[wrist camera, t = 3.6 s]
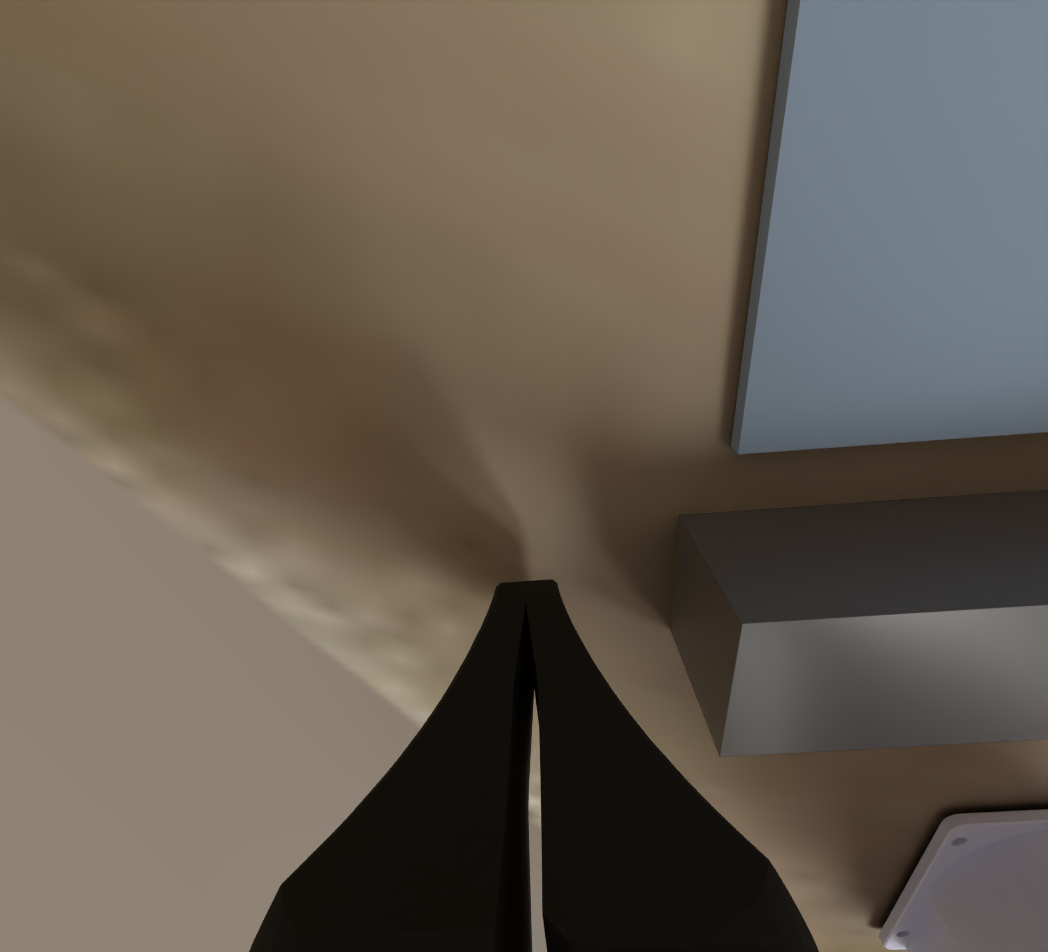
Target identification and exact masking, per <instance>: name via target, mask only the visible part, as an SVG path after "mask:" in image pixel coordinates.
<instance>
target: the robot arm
mask: <svg viewBox="0 0 1048 952" xmlns="http://www.w3.org/2000/svg"><path fill="white" fill-rule="evenodd" d="M534 690H535V697H536V705H537V713H538V720H539V732H540V774H541V828H542V906H543V907H542V909H543V921H544V929H545V937H546V945H547V952H819V951H818V948H817V946H816V944H815V941H814V939H813V937H812V935H811V933H810V931H809V929H808V927H807V925H806V923H805V921H804V919H803V917H802V915H801V913H800V911H799V909H798V908H797V906H796V904H795V902H794V900H793V899H792V897H791V895H790V893H789V891H788V890H787V888H786V886H785V885H784V883H783V882H782V880H781V878H780V877H779V875H778V873H777V872H776V870H775V868H774V867H773V865H772V864H771V862H770V861H769V859H768V858H767V857H765V856H764V855H763V854H762V853H761V852H760V851H759V850H758V849H757V848H756V847H755V846H754V845H752V844H751V843H750V842H749V841H748V840H747V839H746V838H745V837H744V836H743V835H742V834H740V833H739V832H738V831H737V830H736V829H735V828H734V827H733V826H732V825H731V824H730V823H729V822H728V821H727V820H726V819H725V818H724V817H723V816H722V815H721V814H720V813H719V812H717V811H716V810H715V809H714V808H713V807H712V806H711V805H710V803H709V802H708V801H707V800H706V799H705V798H704V797H703V796H702V795H701V794H700V793H699V792H698V791H697V790H696V789H695V788H694V787H693V786H692V785H691V784H690V783H689V782H688V781H687V780H686V779H685V778H684V777H683V775H682V774H681V773H680V772H679V771H678V770H677V769H676V768H675V767H674V765H673V764H672V763H671V762H670V761H669V760H668V759H667V758H666V756H665V755H664V754H663V753H662V752H661V751H660V750H659V749H658V748H657V746H656V745H655V744H654V743H653V742H652V741H651V740H650V738H649V737H648V736H647V735H646V734H645V732H644V731H643V730H642V729H641V727H640V726H639V725H638V724H637V722H636V721H635V720H634V719H633V717H632V716H631V715H630V713H629V712H628V711H627V709H626V708H625V707H624V705H623V704H622V703H621V701H620V700H619V699H618V697H617V696H616V694H615V693H614V692H613V690H612V689H611V687H610V686H609V684H608V683H607V681H606V680H605V679H604V677H603V675H602V674H601V672H600V671H599V669H598V668H597V666H596V664H595V663H594V661H593V660H592V658H591V656H590V655H589V653H588V651H587V650H586V648H585V646H584V644H583V642H582V641H581V639H580V637H579V635H578V633H577V631H576V630H575V628H574V626H573V624H572V622H571V620H570V617H569V615H568V613H567V611H566V609H565V606H564V604H563V601H562V599H561V596H560V593H559V589H558V585H557V583H556V582H555V581H554V580H537V581H522V582H506V583H500V584H499V585H498V586H497V587H496V590H495V593H494V596H493V599H492V602H491V605H490V607H489V610H488V612H487V615H486V617H485V619H484V621H483V624H482V626H481V628H480V630H479V632H478V634H477V636H476V638H475V640H474V642H473V644H472V646H471V648H470V650H469V652H468V654H467V656H466V658H465V660H464V661H463V663H462V665H461V667H460V668H459V670H458V672H457V674H456V675H455V677H454V679H453V681H452V682H451V684H450V686H449V687H448V689H447V691H446V692H445V694H444V695H443V697H442V699H441V700H440V702H439V703H438V705H437V706H436V708H435V709H434V711H433V712H432V714H431V715H430V716H429V718H428V719H427V721H426V722H425V724H424V725H423V727H422V728H421V729H420V731H419V732H418V733H417V735H416V736H415V737H414V739H413V740H412V741H411V743H410V744H409V745H408V747H407V748H406V749H405V751H404V752H403V753H402V755H401V756H400V757H399V758H398V760H397V761H396V762H395V763H394V765H393V766H392V767H391V768H390V770H389V771H388V772H387V773H386V774H385V776H384V777H383V778H382V779H381V780H380V781H379V782H378V784H377V785H376V786H375V787H374V788H373V789H372V790H371V791H370V793H369V794H368V795H367V796H366V797H365V798H364V799H363V801H362V802H361V803H360V804H359V805H358V806H357V807H356V808H355V810H354V811H353V812H352V813H351V814H350V815H349V816H348V818H347V819H346V820H345V821H344V822H343V823H342V824H341V825H340V826H339V827H338V828H337V829H336V830H335V831H334V832H333V833H332V834H331V835H330V836H329V837H328V838H327V839H326V840H325V841H324V842H323V843H322V844H321V845H320V846H319V847H318V848H317V849H316V850H315V851H314V852H313V853H312V854H311V855H310V856H309V857H308V858H307V859H306V860H305V861H304V862H303V863H302V864H301V865H300V866H299V867H298V868H297V870H295V871H294V872H293V873H292V874H291V875H290V876H289V877H288V878H287V879H286V880H285V881H284V882H283V883H282V884H281V886H280V888H279V890H278V892H277V894H276V896H275V898H274V900H273V902H272V904H271V906H270V908H269V910H268V912H267V914H266V916H265V918H264V920H263V923H262V925H261V927H260V929H259V931H258V933H257V935H256V937H255V939H254V941H253V944H252V946H251V949H250V951H249V952H532V931H531V896H530V895H531V894H530V859H529V819H528V801H529V774H530V756H531V738H532V720H533V701H534ZM879 938H880V940H881V942H882V944H883V946H884V947H885V948H887V949H891V950H896V949H908V951H909V952H1048V809H1040V810H1020V811H1001V812H981V813H961V814H953V815H951V816H948V817H946V818H945V819H943V821H942V822H941V824H940V825H939V827H938V829H937V831H936V833H935V834H934V836H933V838H932V840H931V841H930V843H929V845H928V847H927V849H926V850H925V852H924V854H923V856H922V858H921V859H920V861H919V863H918V865H917V867H916V868H915V870H914V872H913V874H912V875H911V877H910V879H909V881H908V883H907V884H906V886H905V888H904V890H903V892H902V893H901V895H900V897H899V899H898V901H897V902H896V904H895V906H894V908H893V910H892V911H891V913H890V915H889V917H888V918H887V920H886V922H885V924H884V926H883V927H882V929H881V931H880V933H879Z"/></svg>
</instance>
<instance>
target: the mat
mask: <svg viewBox="0 0 1048 952" xmlns="http://www.w3.org/2000/svg"><path fill="white" fill-rule="evenodd" d="M1041 432H1048V0H788V4H787V12H786V19H785V27H784V35H783V43H782V51H781V58H780V66H779V74H778V82H777V90H776V97H775V105H774V113H773V121H772V129H771V136H770V144H769V152H768V160H767V168H766V175H765V183H764V191H763V199H762V207H761V214H760V222H759V230H758V238H757V246H756V253H755V261H754V269H753V277H752V285H751V292H750V300H749V308H748V316H747V324H746V331H745V339H744V347H743V355H742V363H741V370H740V378H739V386H738V394H737V402H736V409H735V417H734V425H733V433H732V441H731V448H732V449H733V450H734V451H735V452H736V453H737V454H752V453H766V452H780V451H793V450H807V449H821V448H835V447H848V446H862V445H876V444H890V443H904V442H917V441H931V440H945V439H959V438H973V437H986V436H1000V435H1014V434H1028V433H1041Z"/></svg>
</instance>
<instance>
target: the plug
mask: <svg viewBox="0 0 1048 952" xmlns="http://www.w3.org/2000/svg"><path fill="white" fill-rule="evenodd" d="M670 630H671V633H672V635H673V638H674V640H675V643H676V645H677V648H678V651H679V653H680V656H681V658H682V661H683V663H684V666H685V669H686V671H687V674H688V676H689V679H690V682H691V684H692V687H693V689H694V692H695V694H696V697H697V700H698V702H699V705H700V707H701V710H702V712H703V715H704V718H705V720H706V723H707V725H708V728H709V731H710V733H711V736H712V738H713V741H714V743H715V746H716V749H717V751H718V754H719V756H720V757H730V756H748V755H767V754H785V753H803V752H822V751H840V750H858V749H877V748H895V747H914V746H932V745H950V744H969V743H987V742H1005V741H1024V740H1042V739H1048V490H1035V491H1020V492H1006V493H991V494H977V495H963V496H948V497H934V498H919V499H905V500H890V501H876V502H861V503H847V504H833V505H818V506H804V507H789V508H775V509H760V510H746V511H731V512H717V513H703V514H688V515H679V522H678V535H677V547H676V559H675V572H674V584H673V596H672V609H671V621H670Z"/></svg>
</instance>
